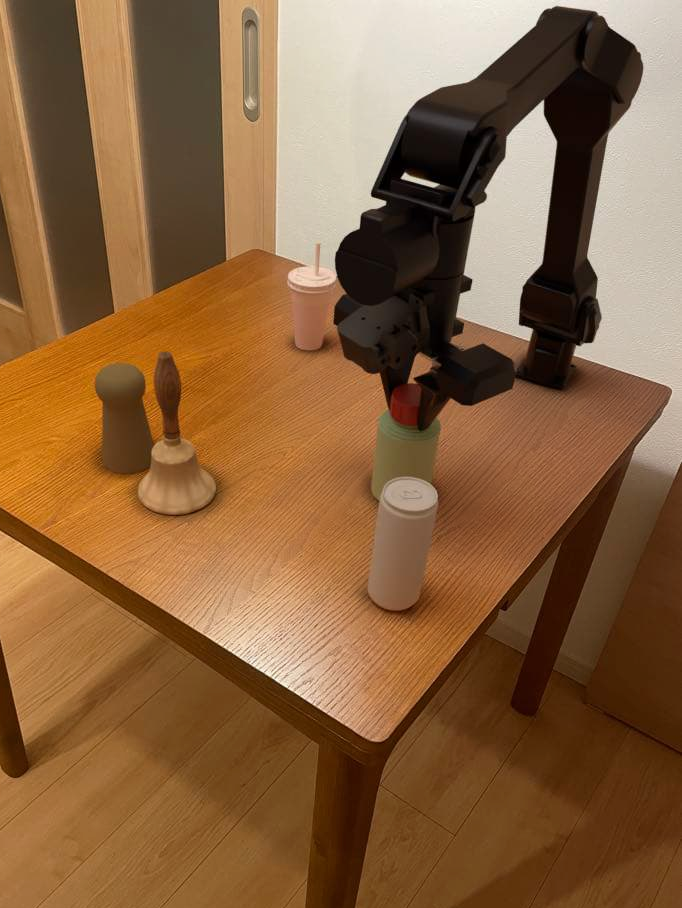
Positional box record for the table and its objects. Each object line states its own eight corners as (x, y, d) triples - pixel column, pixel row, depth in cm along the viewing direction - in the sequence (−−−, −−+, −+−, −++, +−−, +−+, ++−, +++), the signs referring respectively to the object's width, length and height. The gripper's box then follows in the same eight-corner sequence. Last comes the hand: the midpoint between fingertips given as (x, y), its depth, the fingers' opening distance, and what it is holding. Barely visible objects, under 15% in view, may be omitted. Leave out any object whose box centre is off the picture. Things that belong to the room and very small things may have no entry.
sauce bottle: (386, 465, 88) (396, 376, 81) (438, 483, 86) (454, 393, 78) (361, 496, 84) (370, 405, 77) (415, 515, 82) (430, 424, 74)
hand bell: (121, 496, 84) (102, 360, 73) (172, 458, 89) (161, 326, 78) (182, 526, 80) (172, 387, 70) (231, 485, 86) (228, 350, 75)
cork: (165, 448, 90) (158, 361, 83) (141, 478, 86) (131, 389, 79) (117, 437, 92) (106, 351, 84) (91, 466, 87) (77, 378, 80)
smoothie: (327, 357, 107) (335, 255, 97) (281, 352, 108) (283, 249, 98) (335, 335, 111) (342, 235, 102) (289, 330, 112) (293, 230, 103)
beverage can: (362, 577, 75) (376, 476, 67) (412, 575, 76) (432, 474, 68) (371, 615, 72) (386, 512, 64) (424, 613, 72) (446, 510, 64)
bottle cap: (381, 411, 79) (383, 391, 78) (411, 398, 81) (414, 378, 79) (409, 431, 77) (412, 410, 75) (440, 417, 78) (443, 397, 77)
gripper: (291, 249, 71) (286, 401, 81) (438, 333, 59) (411, 497, 70) (386, 224, 75) (370, 370, 86) (539, 297, 64) (499, 455, 75)
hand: (407, 419), depth 79 cm, fingers closed on bottle cap, 4 cm apart
